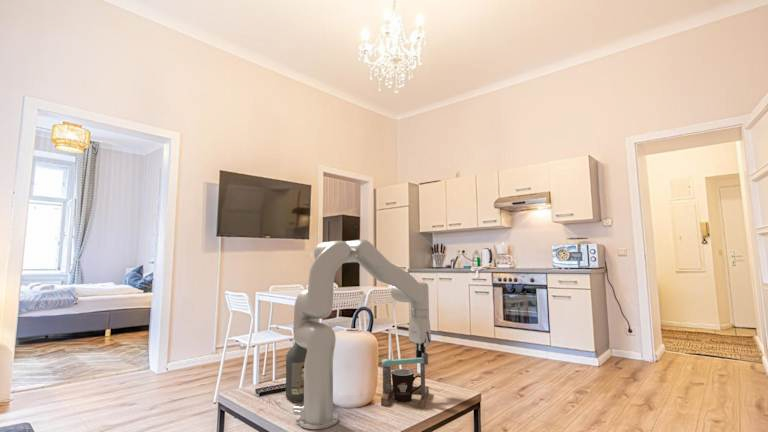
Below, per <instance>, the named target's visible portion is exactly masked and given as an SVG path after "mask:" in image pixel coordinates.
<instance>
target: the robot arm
mask: <svg viewBox="0 0 768 432" xmlns="http://www.w3.org/2000/svg"><path fill="white" fill-rule="evenodd" d="M313 257H314V259H315V260H314V261H313V263H312V265H311V267H310V270H309V273H308V275H309V277H308V282H307V283H308V285H307V289H304V290H302V291H301V292H300V293H299V294H298V295H297V297H296V299H295V302H294V310H293V338H294V343H295V342H296V343H297V344H298V345H299V346H300V347H302V348H305V349H307V354H306V358H305V363H304V401H303V406H301V405H300V406H297V405H295V406H293V408H292V411H293V413H292V415H296V416H300V417H299V419H298V425H299V426H300V427H301V428H303V429H307V430H322V429H327V428H330V427H332V426H334V425H336V424H337V423H338V420H339V419H338V418H339V416H338V415H337V413H335V412H334V354H335V348H336V341H337V340H336V339H337V338H336V333H335V331H334V329H333V328H332V327H331V326H330V325H329V324H326V323H325V322H320V321H319V320H320V319H321V320H324V319H326V318H328V317H329V316H330V315H331V314H332V311H333V307H334V306H333V305H334V283H335V276H336V274H337V271H338V269H339V268H341V266H342V265H343V264H348V263H349V264H350V263H358V264H359V266H361V267H362V268H363V269H364V270H365V271H367V273H368V274H369V275H370V276H372V277H373V278H374V279H375V280H377V281H379V282H381V283H384V284H387V285H390V286H391V290H390V296H391V297H392V298H393V300H394V301H397V302H401V303H408V304H409V305H410V308H409V309H410V310H409V311H410V313H409V315H410V316H409V321H408V322H409V323H408V340H409V341H411V342H412V343H413V344H414V349H415V350H416V351H415V358H421V357H422V353H426V349H427V348H429V347H430V343H431V340H432V329H431V322H430V305H429V303H430V298H429V297H430V295H429V285H428V283H427V282H420V281H417V279H416V278H415V277H414V276H412V274H410V273H409V272H407V271H405V270H403V269H402V268H400V267H399V266H397V264H396V265H395V264H394V263H392V262H391V261H390V260H388V259H387V258H386V257H385V256H384V254H383V253H381V251H379V250H378V248H376V247H375V245H373V244H372V243H371V242H370V241H369V240H367V239H353V240H331V241H323V242H320V243H318V244H317V246H316V247H315V248H314V250H313Z"/></svg>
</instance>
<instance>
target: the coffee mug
mask: <svg viewBox="0 0 768 432" xmlns="http://www.w3.org/2000/svg"><path fill="white" fill-rule="evenodd" d="M416 378H421V374H420V375H415V371H414V370H412V369H408V368H397V369H394V370H391V383H392V385H393V390H394V394H393V397H394V402H396V403H400V404H401V403H402V404H403V403H404V404H406V403H409V402H411V401H412V397H413V394H414V393H413V392H414V391H416V390H417V389H419V388H420V387H421V384H420V385H418V386H419V387H417V388H416V389H414V390H412V389H413V386H414V382H415V380H416Z"/></svg>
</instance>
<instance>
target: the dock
mask: <svg viewBox="0 0 768 432" xmlns="http://www.w3.org/2000/svg"><path fill="white" fill-rule="evenodd" d="M419 365H420V370H419V371H420V376H421V377H420V385H421V387H420V388H419V389H417V390H416V391H414V392H413V393H412V394H419V395H420V400H419V409H425V406H426V402H427V399H428V398H429V397H428V396H429V392H430V391H429V387H430V386H426V365H425V362H421V363H419ZM391 372H392V365H391V366H390V367H383V366H382V396H381V398H380V405H381V406H382V407H383V406H384V407H387V406H388V404H389V403H390V401H391V399H392V398H393V397H394V390H393V384H392V374H391ZM420 385H413V389H412V390H414V389H416V388H417V387H419V386H420Z"/></svg>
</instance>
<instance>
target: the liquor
mask: <svg viewBox="0 0 768 432" xmlns="http://www.w3.org/2000/svg"><path fill="white" fill-rule="evenodd" d="M306 354H307V349H305V348H302V347H300V346H299V345H298V344H297V343H296V342H295V341H294V344H293V346H291V348H290V349H289V350H288V351H287V353H286V356H285V360H286V361H285V366H286V367H285V397H286V399H287V398H288V399H289V401H290V402H291V401H292V402H291V403H302V402H304V363H305V358H306ZM288 399H287V400H288Z"/></svg>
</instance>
